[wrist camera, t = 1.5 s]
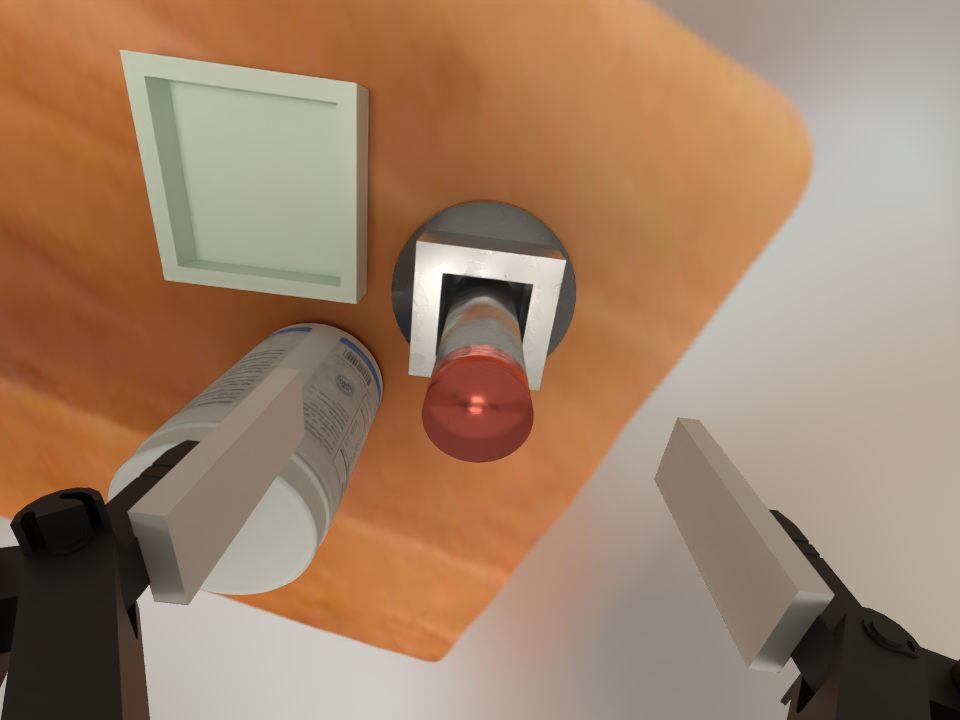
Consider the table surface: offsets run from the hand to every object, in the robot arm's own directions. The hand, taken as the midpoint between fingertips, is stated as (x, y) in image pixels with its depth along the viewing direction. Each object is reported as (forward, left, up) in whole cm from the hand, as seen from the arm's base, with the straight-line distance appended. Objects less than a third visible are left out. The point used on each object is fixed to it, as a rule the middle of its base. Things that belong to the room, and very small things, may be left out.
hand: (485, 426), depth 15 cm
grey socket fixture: (0, 0, -16) cm, 16 cm away
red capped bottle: (0, 0, -14) cm, 14 cm away
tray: (-14, +5, -16) cm, 22 cm away
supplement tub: (-11, -8, -16) cm, 21 cm away
